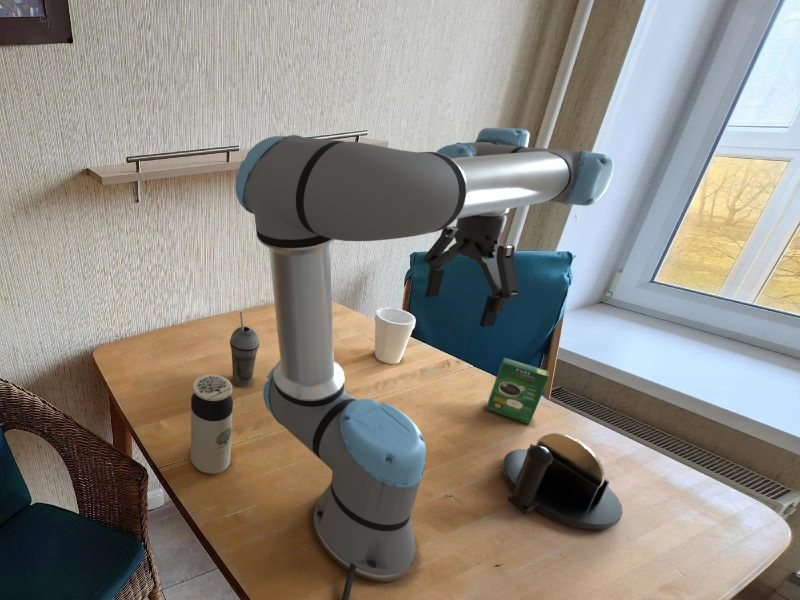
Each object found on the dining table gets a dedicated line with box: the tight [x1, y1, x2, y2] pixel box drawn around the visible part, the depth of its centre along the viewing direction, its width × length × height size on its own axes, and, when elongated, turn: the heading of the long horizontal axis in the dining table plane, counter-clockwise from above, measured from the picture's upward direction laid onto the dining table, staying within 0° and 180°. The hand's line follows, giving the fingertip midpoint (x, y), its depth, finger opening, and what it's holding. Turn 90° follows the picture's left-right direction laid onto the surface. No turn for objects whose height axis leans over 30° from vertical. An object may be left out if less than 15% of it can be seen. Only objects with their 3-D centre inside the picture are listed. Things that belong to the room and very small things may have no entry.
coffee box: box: [486, 357, 550, 425], centre depth 94 cm, size 8×3×13 cm, turn 49°
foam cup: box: [374, 307, 417, 365], centre depth 116 cm, size 10×9×13 cm
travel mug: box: [190, 373, 234, 475], centre depth 83 cm, size 8×8×18 cm
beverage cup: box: [229, 311, 260, 388], centre depth 106 cm, size 7×7×20 cm
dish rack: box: [501, 432, 623, 530], centre depth 74 cm, size 20×16×13 cm
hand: (457, 309), depth 90 cm, fingers open, 13 cm apart
